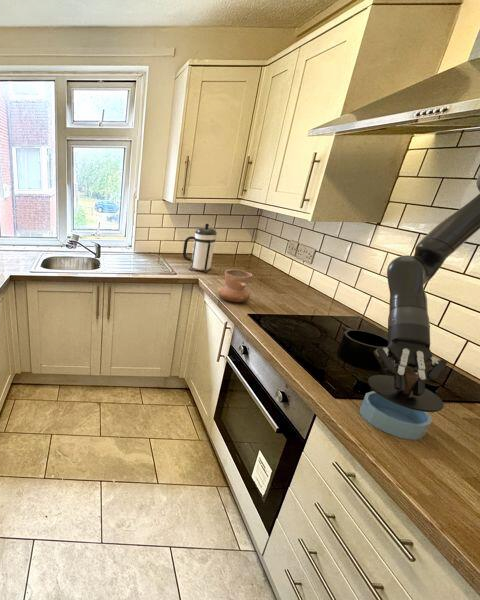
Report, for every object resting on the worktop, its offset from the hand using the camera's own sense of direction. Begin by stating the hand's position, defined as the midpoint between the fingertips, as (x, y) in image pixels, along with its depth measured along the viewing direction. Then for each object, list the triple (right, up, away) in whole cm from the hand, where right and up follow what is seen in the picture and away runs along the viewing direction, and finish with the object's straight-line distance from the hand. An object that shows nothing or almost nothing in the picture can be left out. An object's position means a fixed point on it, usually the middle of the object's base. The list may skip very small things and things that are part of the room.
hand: (408, 393), depth 76 cm
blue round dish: (+1, -9, +6) cm, 11 cm away
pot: (+17, +2, +32) cm, 36 cm away
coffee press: (-2, +42, +131) cm, 137 cm away
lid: (+1, -1, +2) cm, 3 cm away
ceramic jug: (-2, +23, +83) cm, 86 cm away
